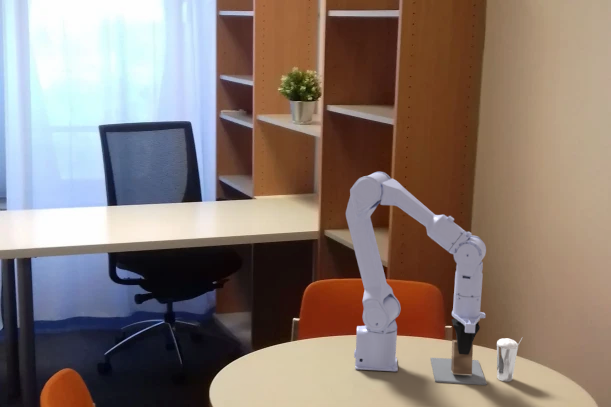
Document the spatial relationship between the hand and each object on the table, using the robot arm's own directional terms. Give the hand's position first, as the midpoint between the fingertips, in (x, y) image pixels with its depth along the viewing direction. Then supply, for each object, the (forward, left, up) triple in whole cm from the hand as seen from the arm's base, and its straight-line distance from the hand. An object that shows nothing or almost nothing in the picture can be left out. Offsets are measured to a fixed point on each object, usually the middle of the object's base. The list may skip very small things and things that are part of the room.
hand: (463, 353), depth 160 cm
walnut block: (0, +1, -5) cm, 6 cm away
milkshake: (+10, +2, -6) cm, 12 cm away
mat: (0, +4, -6) cm, 8 cm away
